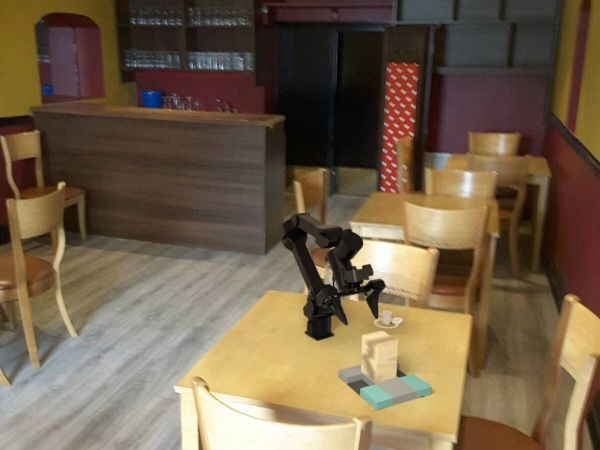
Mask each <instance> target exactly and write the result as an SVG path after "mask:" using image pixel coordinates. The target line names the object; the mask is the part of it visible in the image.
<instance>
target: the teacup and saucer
mask: <svg viewBox="0 0 600 450" xmlns="http://www.w3.org/2000/svg"><path fill="white" fill-rule="evenodd" d="M378 315H379V317H378V319H374V321H373V324H374V326H376V327H378V328H380V329H381V328H382V329H395V328H397V327H399V326H400V325H401V324H402V323H403V322H404V319H403V318H402V317H399V316H397V317H396V316H395V317H393V316H392V315H393V312H392V311H391V310H382V311H381V312H378ZM380 315H381V317H380ZM379 321H380V322H381V323H382V324H383V325H385V326H382V325H380V324H378V322H379ZM390 324H393V325H394V326H389V325H390ZM386 325H387V326H386Z"/></svg>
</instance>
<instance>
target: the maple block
mask: <svg viewBox="0 0 600 450" xmlns="http://www.w3.org/2000/svg"><path fill="white" fill-rule="evenodd" d="M398 347H399V340H398V339H395V338H394V337H392V335H390V334H388V333H387V332H385V331H384V330H378V331H373V332H369V333H364V334H361V357H360V359H361V361H360V362H361V363H360V365H361V371H362V372H363V373H365V374H366V375H367V376H368V377H370V378H371V379H372V380H373V381H375V382H376V383H378V382H381V381H385V380H389V379H392V378H396V372H397V363H398V351H399V349H398Z"/></svg>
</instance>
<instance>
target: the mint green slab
mask: <svg viewBox="0 0 600 450" xmlns="http://www.w3.org/2000/svg"><path fill="white" fill-rule="evenodd" d="M400 379H401V380H403V381H404V382H405V383H407V384H408V385H409V386H411V387H412V388H413V389H415V390H416V391H417V397H416V398H417V399H419V398H418V397H420V398H422V397H421V396H424V397H426V395H427V396H430V395H432V388H433V386H431V385H430V384H428V383H427V382H426V381H424V380H422V379H421V378H420V377H418V376H417V375H416V374H414V373H411V374H409V375H407V376H404V377H400ZM429 394H430V395H429ZM359 397H361V398H362V399H363V400H364V401H365V402H366V403H368V404H369V405H370V406H371V407H372V408H373V409H375V410H376V411H379V410H382V409H386V408H389V406H390V407H393V406H394V405H393V398H392V397H391V396H390V395H389V394H387V393H386V392H385V391H384V390H382V389H381V388H380V387H379V386H377V385H376V384H375V385H371V386H367V387H364V388H360V395H359ZM392 405H393V406H392Z"/></svg>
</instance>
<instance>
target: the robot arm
mask: <svg viewBox="0 0 600 450" xmlns="http://www.w3.org/2000/svg"><path fill="white" fill-rule="evenodd" d="M308 235H310V236H311V237H313V238H314V243H315V244H316V245H317V247H319V248H320V249H321V250H325V249H326V250H327V249H330V250H329V251H326V254H325V257H324V261H325V262H328V264H330V267H331V269H332V272H333V275H334V276H333V277H332V279H333V281H336V283H337V286H338V289H339V290H337V288H336V287H332V285H331V284H324V280H323V279H322V277H321V275H320V272H319V270H318V268H317V266H316V264H315V261H314V259H313V257H312V255H311V253H310V252H311V251H310V250H309V248H308V245H307V240H308ZM277 236H278V239H279V240H280V241H281V243H282V245H283V247H284V248H285V249H287V250H289V251H290V252H291V253H292V255H293V257H294V260H295V261H296V265H297V266H298V269H299V272H300V274H301V276H302V278H303V281H304V284H305V286H306V288H307V296H306V303H305V304H304V306H303V307H302V311H303V315H304V316H305V317H306V318H307V319H308V320H307V321H306V330H305V331H304V334H305V335H307V336H308V337H310V338H312V339H314V340H316V341H320V340H324V339H328V338H330V337H333V336H335V333H334V332H332V317H333V316H335V317H336V318H337V319H338V320H339V321H340V322H341V323H342V324H343V325H344V326H345V327H346V326H348V325H349V322H348V319H347V316H346V312H345V310H343V309H344V307H343V308H342V305H341V297H343V298H344V297H345V298H346V297H349V296H356V295H360V294H363V295H364V296H365V297H366V298H365V301H366V304H367V306H368V307H369V310H370V312H371V314H372V316H373V317H374V320H376V319H378V317H379V318H380V314H379V297H380V295H381V294H382V293H383V291H384V290H385V289H386V288H387V285H386V282H385V280H383V279H382V278H376V279H375V278H374V279H370V277H373V276H374V269H373V268H374V267H372V264H371V263H368V264H363V265H361V268H357V266H356V265H353V262H352V260H353V259H354V258H355V257H356V256H357V254H358V253H359V252H360V251H361V250H362V248H363V247H364V240H363V237H361V235H359V234H358V233H357V232H354V231H353V230H352V228H345V229H343V227H342V226H340V225H335V224H326V223H324V222H322V221H320V220H319V219H317V218H315V217H313V216H312V215H311V214H310V213H309V212H298V213H293V214H292V215H291V217H290V218H289V219H287V220H286V221H284V222H283V223H281V225H280V227H279V228H278V231H277ZM368 280H369V281H368ZM364 281H367V283H366V284H365V285H362V284H364V283H365V282H364ZM378 314H379V315H378Z"/></svg>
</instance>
